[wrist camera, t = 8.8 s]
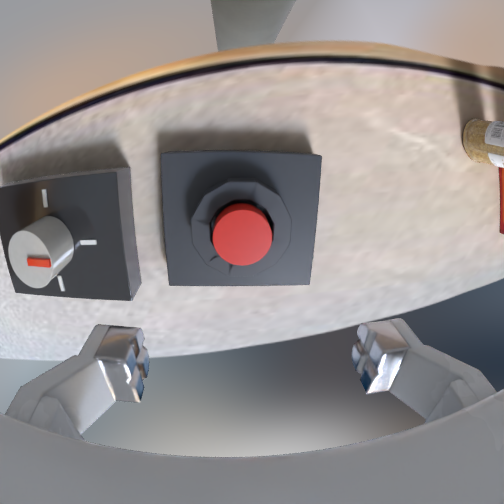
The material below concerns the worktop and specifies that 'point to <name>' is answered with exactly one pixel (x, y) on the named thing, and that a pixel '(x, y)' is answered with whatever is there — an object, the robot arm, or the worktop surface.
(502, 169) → the baking soda box
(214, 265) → the block
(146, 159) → the worktop surface
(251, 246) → the button
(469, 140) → the sprinkles bottle
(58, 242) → the knob
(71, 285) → the hob knob base
